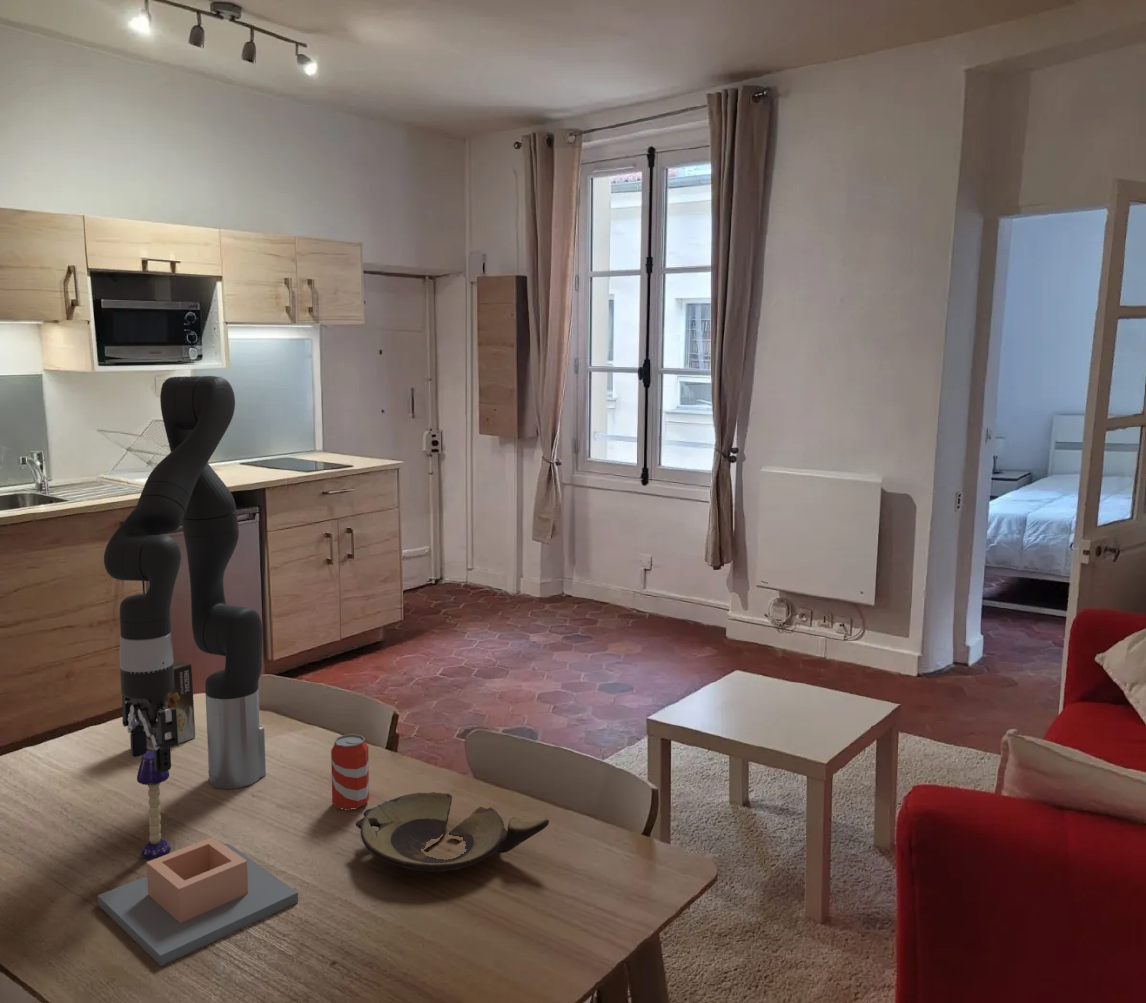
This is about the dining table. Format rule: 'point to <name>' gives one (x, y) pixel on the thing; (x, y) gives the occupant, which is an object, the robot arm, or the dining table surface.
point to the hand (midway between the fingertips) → (150, 762)
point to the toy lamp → (153, 806)
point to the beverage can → (350, 772)
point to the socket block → (195, 899)
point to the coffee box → (181, 703)
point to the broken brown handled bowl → (438, 831)
